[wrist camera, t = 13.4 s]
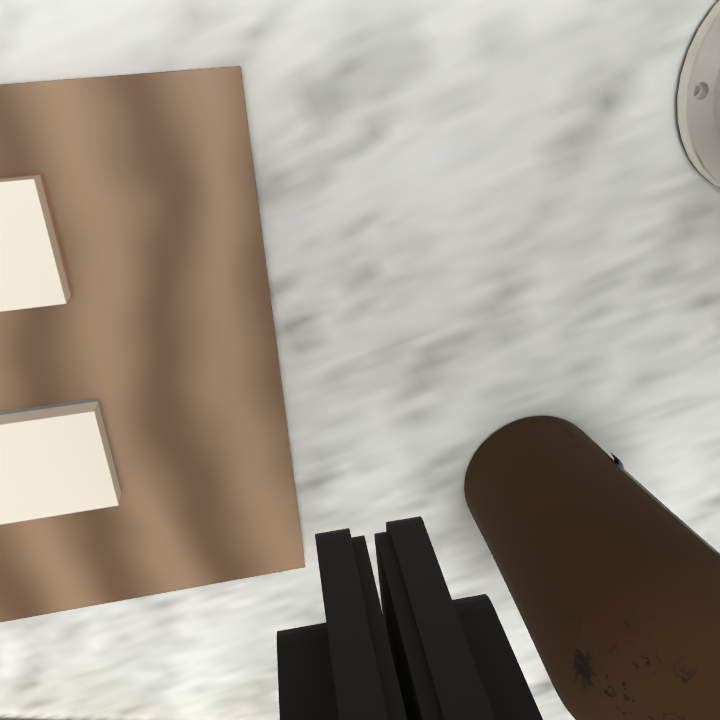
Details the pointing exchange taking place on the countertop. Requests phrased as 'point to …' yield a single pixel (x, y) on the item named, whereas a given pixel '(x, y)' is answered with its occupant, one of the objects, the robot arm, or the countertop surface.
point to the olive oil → (600, 575)
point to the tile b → (56, 461)
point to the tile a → (29, 247)
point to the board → (150, 340)
